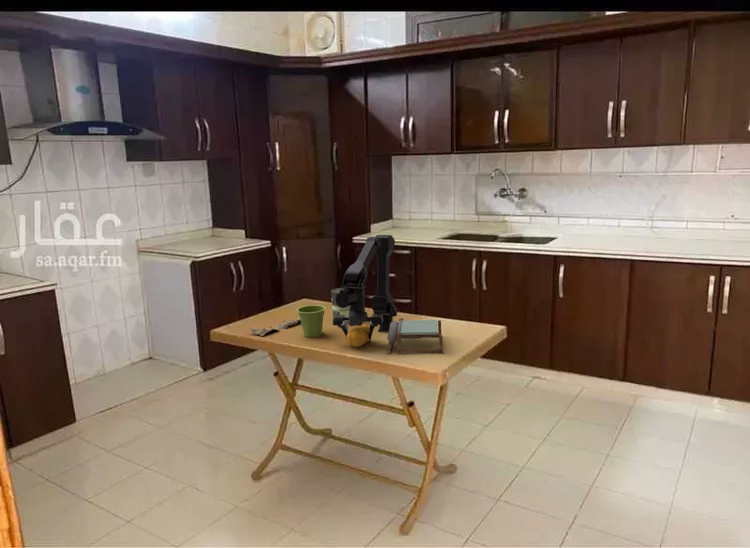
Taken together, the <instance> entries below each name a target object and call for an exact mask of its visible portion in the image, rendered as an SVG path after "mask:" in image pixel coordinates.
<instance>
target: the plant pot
mask: <svg viewBox="0 0 750 548" xmlns="http://www.w3.org/2000/svg"><path fill="white" fill-rule="evenodd" d="M325 311H326V307H325V306H324V305H319V304H318V305H317V304H316V305H315V304H311V305H303V306H300V307H298V308H297V309H296V312H297V314H298V316H299V317H300V320H301V321H300V323H301V327H302V332H303V336H305V337H306V338H318V337H320V336H321V335H322V333H323V323H324V316H325V315H324V314H325Z"/></svg>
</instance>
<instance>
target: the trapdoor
mask: <svg viewBox="0 0 750 548" xmlns="http://www.w3.org/2000/svg"><path fill="white" fill-rule="evenodd" d="M387 332H388V334H387V339H386V340H388V343H389V342H392V344H393V343H395V342H396V343H397V335H396V334H397V333H401V335H416V334H438V319H420V320H419V319H418V320H417V319H416V320H415V319H414V320H411V319H410V320H409V319H407V320H403V321H402V320H400V321H399V320H398V321H397V320H393V322H391V324H390V328H389V331H387Z"/></svg>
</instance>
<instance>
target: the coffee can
mask: <svg viewBox="0 0 750 548" xmlns="http://www.w3.org/2000/svg"><path fill="white" fill-rule="evenodd" d="M340 289H344V288H341V287H337V288H333V289H331V290H330V292H331V294H330V295H331V303H332V304H331V308H332V309H331V310H332V319H333V318H334V317H335V315H345V317H349V312H350V306H348V307H345V308H340V307H339V306H338V305H337V304H336V300H335V298H336V296H337V294H339V293H340ZM347 324H349V322H347Z"/></svg>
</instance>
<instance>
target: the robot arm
mask: <svg viewBox="0 0 750 548" xmlns="http://www.w3.org/2000/svg"><path fill="white" fill-rule="evenodd" d="M395 244H396V240H395V238H394V237H393V235H391V234H376V235H375V236H369V237H367V238H366V241H365V244H364V246H363V248H362V249H361V252H360V253H359V256H358V257H357V259H356V261H355V262H354V263H352V264H351V265H350V266H349V267H348V268H347V270H346V271H345V273H344V275H343V280H342V283H341V286H340V288H344V289H340V293H339V294H337V296H336V298H335V300H336V304H337V305H338V306H339V307H340V308H345V307H348V306H350V312H349V317H345V315H335V317H334V318H333V317H332V325H333V326H337V328H339V329H341V330H342V332H343V333H344V336H345V338H346V337H347V334H348V332H349V326H350V327H354V326H355V327H358V326H361V325H362V324H363V323H365V322H366V323H369V328H370V332H369V340H368V342H371V341H372V337H373V332H374V330H375V327H378V328H377V331H378V332H389V328H390V324H391V322H393V321H394V317H397V315H398V308H397V306H395V304H394V298H393V295H392V294H391V293H390V262H391V261H390V260H391V259H390V257H391V255H392V254H393V252H394V250H395ZM375 254H376V256H377V275H376V276H377V278H376V279H377V283H376V285H377V291H376V293H375V295H373V296H372V297H371V299H372V302H371V304H372V305H371V307H372V311H373V313H372V314H371V316H368V312H367V311H366V305H365V302H366V301H365V289H366V288H367V285H366V284H365V283H366V281H367V278H368V275H369V273H368V268H369V266H370V263H371V262H372V260H373V258H374V256H375ZM347 322H349V323H347ZM348 324H349V325H348Z"/></svg>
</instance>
